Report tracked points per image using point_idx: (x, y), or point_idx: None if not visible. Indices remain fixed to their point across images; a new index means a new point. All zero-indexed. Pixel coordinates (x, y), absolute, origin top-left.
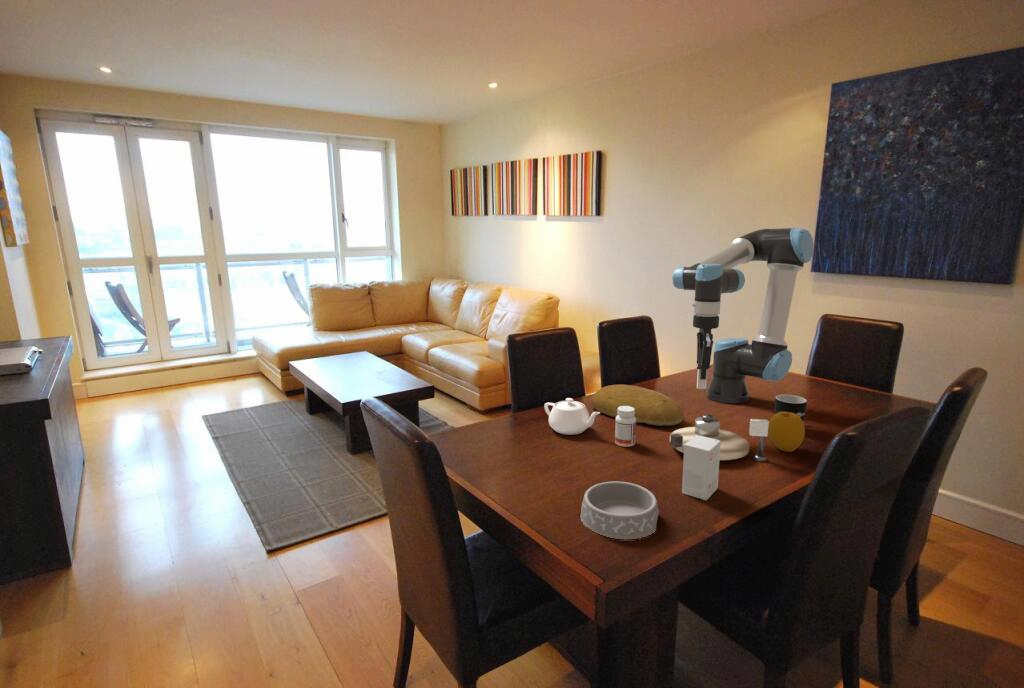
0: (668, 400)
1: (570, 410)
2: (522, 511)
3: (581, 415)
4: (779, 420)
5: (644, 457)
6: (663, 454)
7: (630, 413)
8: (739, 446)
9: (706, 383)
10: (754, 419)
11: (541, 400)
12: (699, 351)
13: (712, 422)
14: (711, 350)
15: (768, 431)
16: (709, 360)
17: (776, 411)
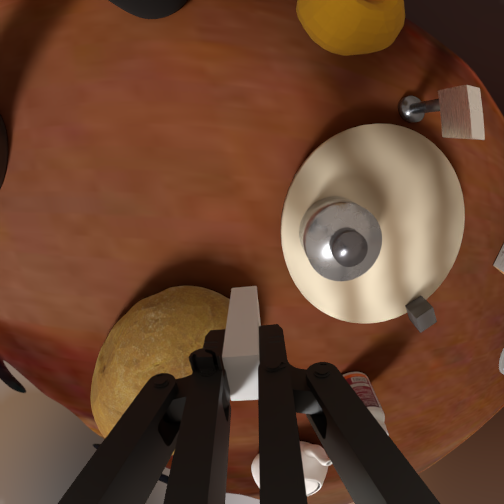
0: (184, 355)
1: (321, 484)
2: (494, 409)
3: (317, 469)
4: (395, 24)
5: (412, 347)
6: (401, 318)
7: (386, 429)
8: (415, 156)
9: (257, 302)
10: (474, 126)
11: (159, 479)
12: (223, 498)
13: (359, 229)
14: (423, 484)
15: (351, 54)
16: (367, 415)
17: (153, 2)
